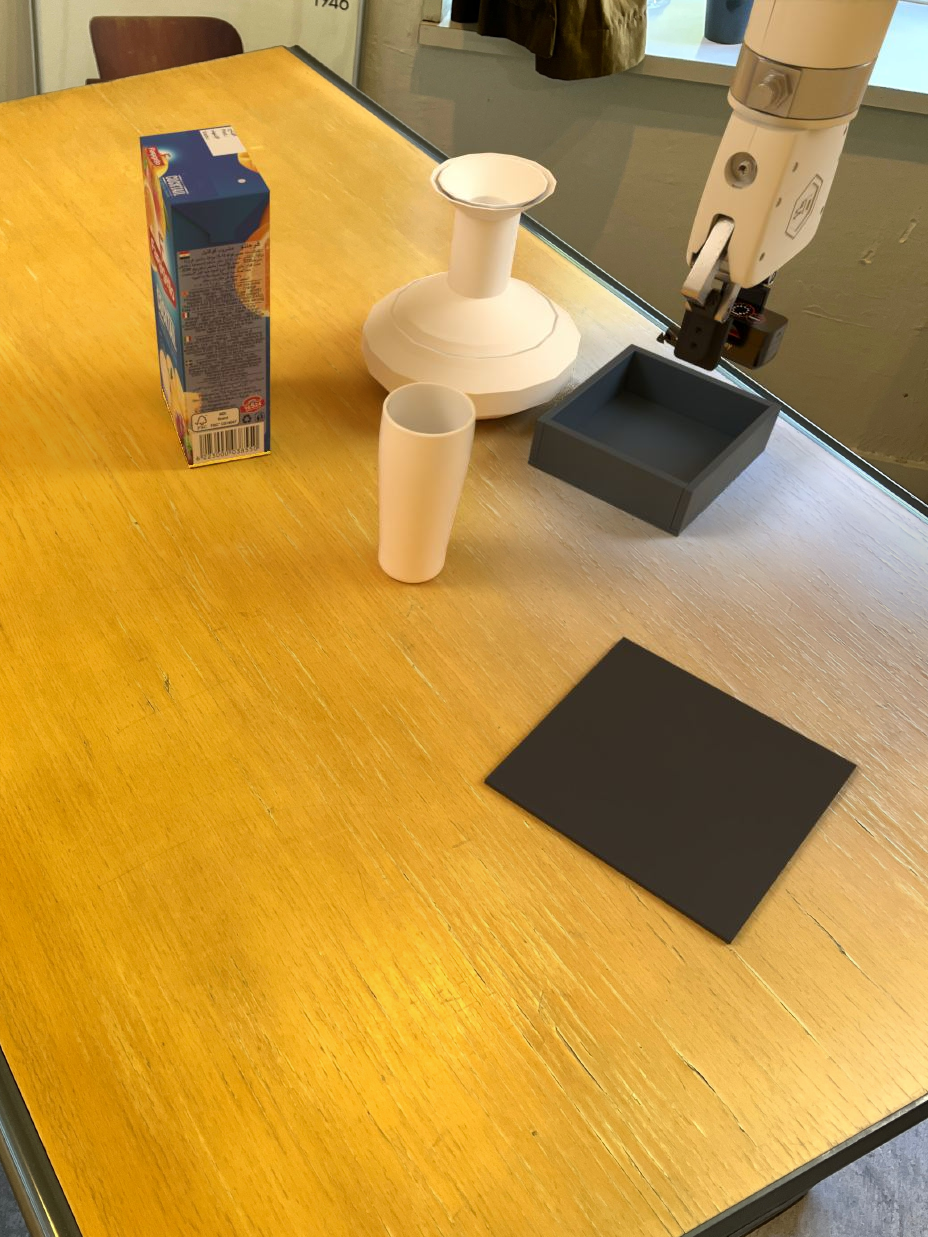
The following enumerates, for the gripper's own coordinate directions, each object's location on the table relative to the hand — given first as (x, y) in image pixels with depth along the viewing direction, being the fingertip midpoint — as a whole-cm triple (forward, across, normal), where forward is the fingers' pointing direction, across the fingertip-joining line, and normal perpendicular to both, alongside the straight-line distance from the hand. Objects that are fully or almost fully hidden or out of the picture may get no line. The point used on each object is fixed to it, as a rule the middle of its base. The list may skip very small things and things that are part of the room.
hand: (713, 345), depth 81 cm
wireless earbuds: (+1, 0, 0) cm, 1 cm away
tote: (+17, +8, +5) cm, 19 cm away
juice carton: (+17, -15, +37) cm, 43 cm away
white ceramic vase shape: (+17, +6, +24) cm, 30 cm away
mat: (+17, -22, -14) cm, 31 cm away
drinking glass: (+17, -18, +12) cm, 27 cm away
